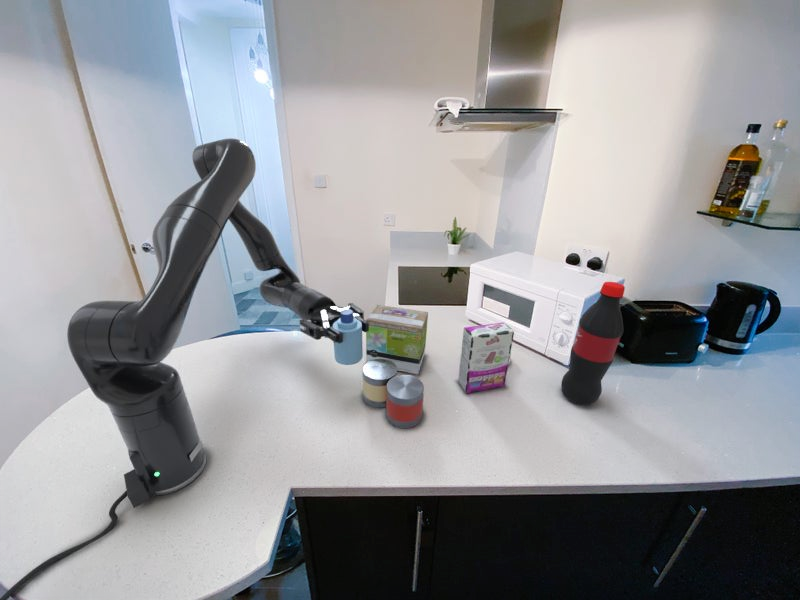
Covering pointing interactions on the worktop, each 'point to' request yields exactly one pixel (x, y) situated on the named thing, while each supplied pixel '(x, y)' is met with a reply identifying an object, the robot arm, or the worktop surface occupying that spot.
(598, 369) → the cola bottle
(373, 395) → the can back
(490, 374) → the candy bar box
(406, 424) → the can front
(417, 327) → the tea box
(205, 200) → the robot arm
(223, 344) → the worktop surface
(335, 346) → the plastic bottle
